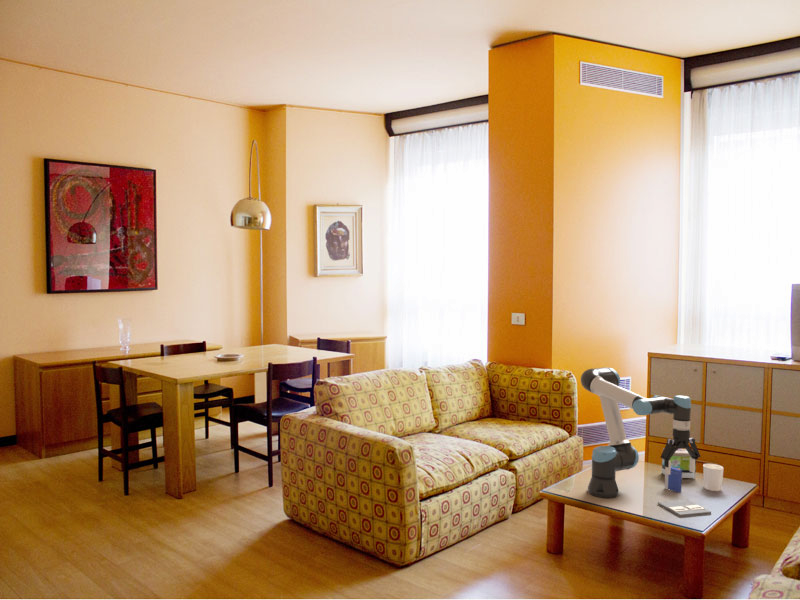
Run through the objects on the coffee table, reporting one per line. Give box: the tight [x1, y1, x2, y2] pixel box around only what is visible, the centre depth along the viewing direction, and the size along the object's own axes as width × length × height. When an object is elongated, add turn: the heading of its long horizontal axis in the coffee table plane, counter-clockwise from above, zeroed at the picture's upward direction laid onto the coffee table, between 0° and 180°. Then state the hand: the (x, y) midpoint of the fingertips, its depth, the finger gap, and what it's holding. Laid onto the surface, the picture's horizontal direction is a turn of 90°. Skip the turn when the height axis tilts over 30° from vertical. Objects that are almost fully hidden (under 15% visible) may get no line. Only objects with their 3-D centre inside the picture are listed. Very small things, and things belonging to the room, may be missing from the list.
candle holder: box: [702, 463, 724, 492], centre depth 323 cm, size 10×10×12 cm
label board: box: [657, 499, 712, 518], centre depth 293 cm, size 17×16×2 cm
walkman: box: [664, 467, 683, 493], centre depth 320 cm, size 8×3×12 cm, turn 33°
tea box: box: [661, 447, 697, 480], centre depth 343 cm, size 15×10×15 cm, turn 91°
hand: (680, 472), depth 289 cm, fingers open, 13 cm apart
